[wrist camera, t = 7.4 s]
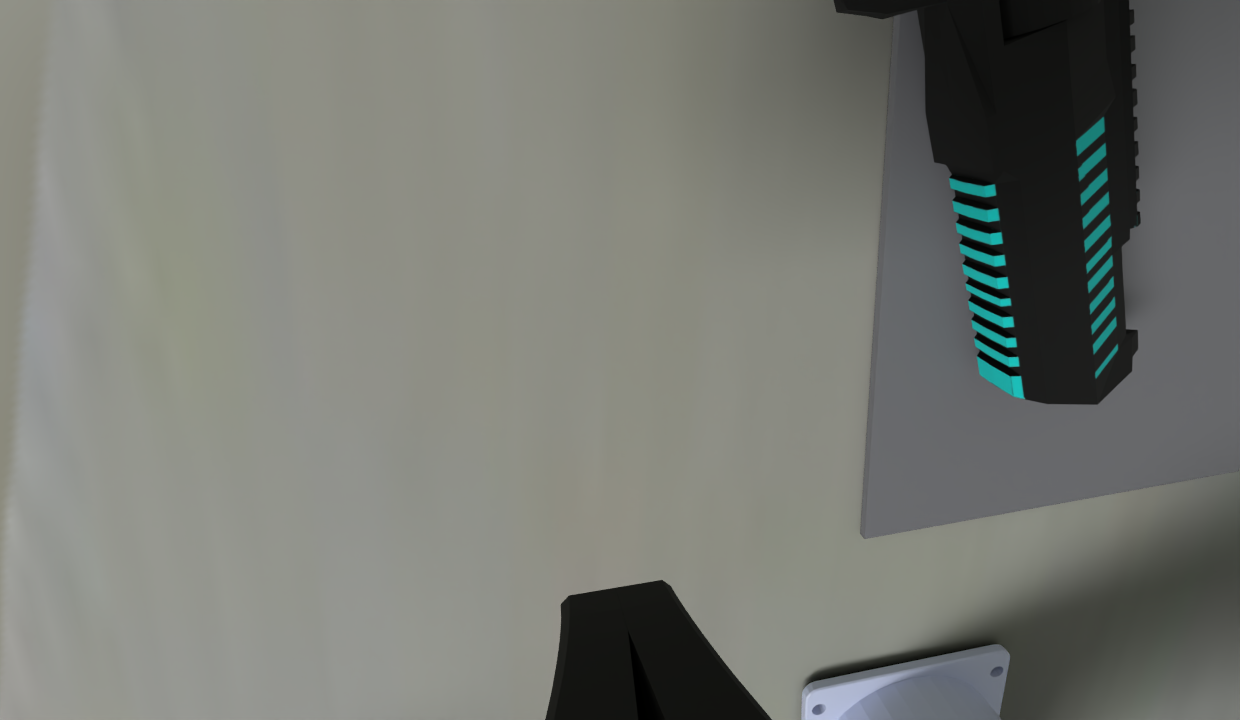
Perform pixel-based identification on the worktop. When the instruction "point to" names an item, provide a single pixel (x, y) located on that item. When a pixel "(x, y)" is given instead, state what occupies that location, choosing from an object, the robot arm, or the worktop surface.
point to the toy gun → (1036, 180)
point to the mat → (1153, 293)
